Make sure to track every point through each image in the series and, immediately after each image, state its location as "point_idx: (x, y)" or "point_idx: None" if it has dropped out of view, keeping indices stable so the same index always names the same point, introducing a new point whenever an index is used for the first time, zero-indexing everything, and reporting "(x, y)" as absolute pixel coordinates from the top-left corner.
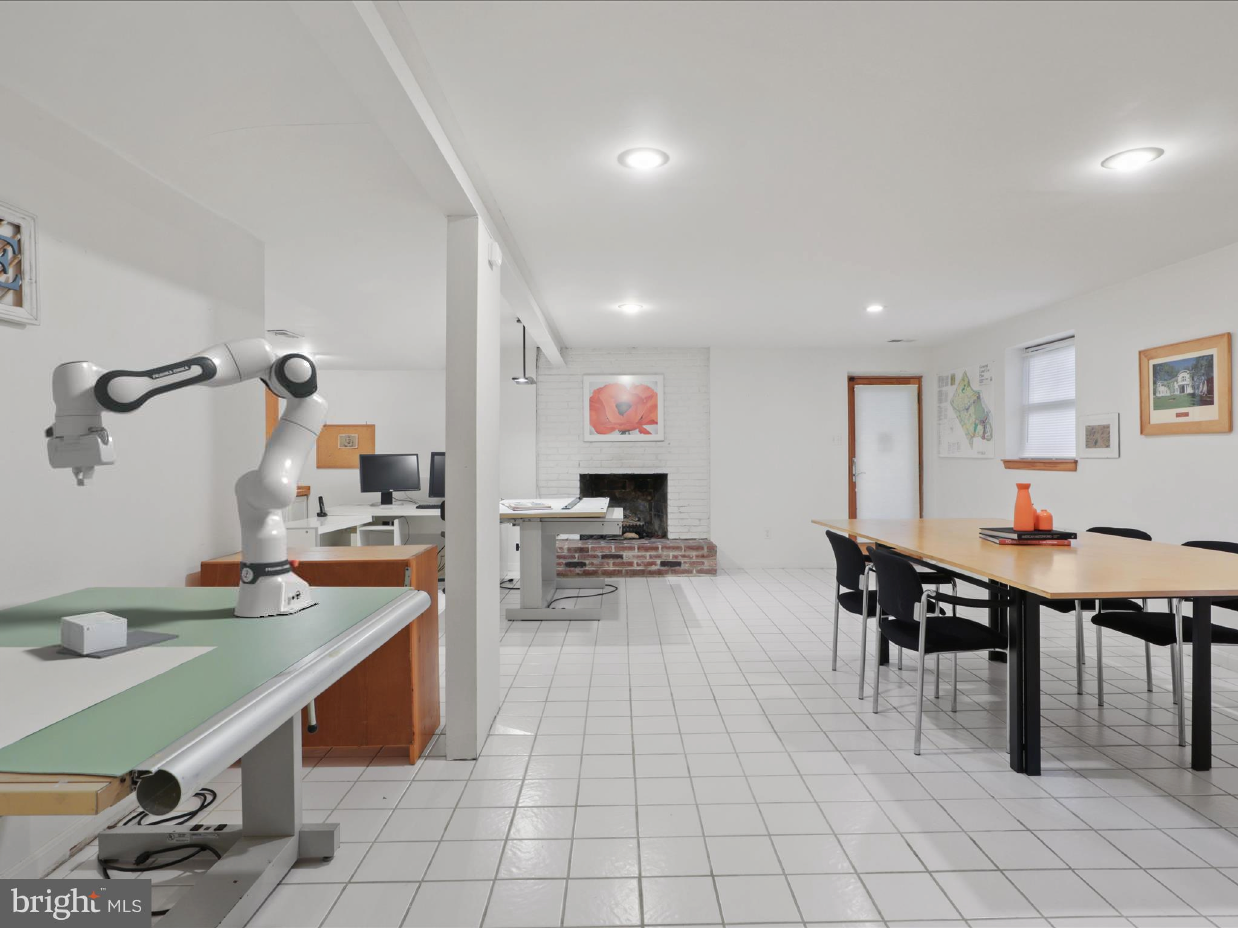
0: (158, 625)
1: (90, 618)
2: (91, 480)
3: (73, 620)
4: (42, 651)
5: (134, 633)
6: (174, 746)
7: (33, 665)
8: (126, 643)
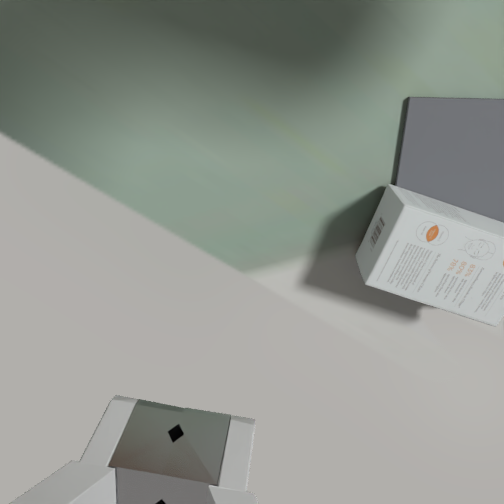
0: (402, 9)
1: (449, 275)
2: (249, 464)
3: (423, 297)
4: (343, 280)
5: (430, 126)
6: None
7: (418, 342)
8: (488, 204)
